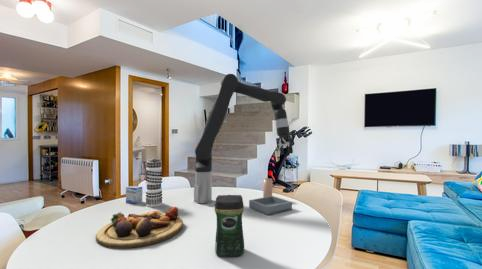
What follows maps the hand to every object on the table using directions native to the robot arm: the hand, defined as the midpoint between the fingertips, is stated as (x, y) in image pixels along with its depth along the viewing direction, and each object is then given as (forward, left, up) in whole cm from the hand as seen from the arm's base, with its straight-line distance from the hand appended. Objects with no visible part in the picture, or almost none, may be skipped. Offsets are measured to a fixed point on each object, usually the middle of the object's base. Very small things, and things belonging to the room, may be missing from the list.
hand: (286, 153), depth 144 cm
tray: (-20, -8, -27) cm, 34 cm away
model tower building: (-67, +34, -27) cm, 80 cm away
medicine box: (-75, +45, -27) cm, 92 cm away
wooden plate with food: (-81, 0, -28) cm, 86 cm away
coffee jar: (-62, -35, -27) cm, 76 cm away
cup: (-9, +6, -27) cm, 29 cm away
